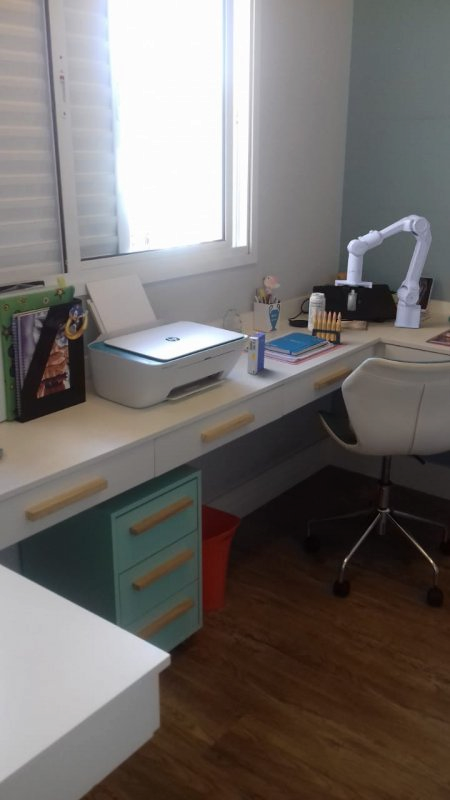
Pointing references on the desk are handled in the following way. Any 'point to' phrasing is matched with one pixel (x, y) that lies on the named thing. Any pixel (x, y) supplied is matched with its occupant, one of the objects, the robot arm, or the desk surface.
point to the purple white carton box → (256, 353)
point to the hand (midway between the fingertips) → (351, 304)
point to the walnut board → (353, 325)
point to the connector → (352, 301)
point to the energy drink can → (316, 308)
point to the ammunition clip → (329, 331)
